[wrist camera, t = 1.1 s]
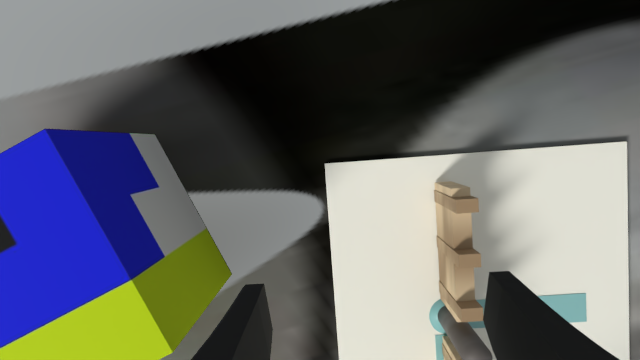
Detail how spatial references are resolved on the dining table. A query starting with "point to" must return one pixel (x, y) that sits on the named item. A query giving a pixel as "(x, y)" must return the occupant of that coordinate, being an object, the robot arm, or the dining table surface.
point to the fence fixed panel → (461, 339)
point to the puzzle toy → (99, 249)
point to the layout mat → (479, 243)
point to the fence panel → (457, 250)
